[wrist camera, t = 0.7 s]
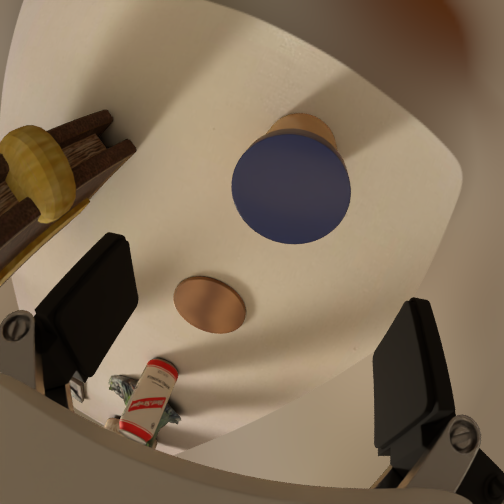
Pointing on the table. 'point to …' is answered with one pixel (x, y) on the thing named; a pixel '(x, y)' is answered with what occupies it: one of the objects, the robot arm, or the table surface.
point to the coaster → (209, 305)
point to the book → (50, 182)
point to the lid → (291, 186)
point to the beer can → (148, 401)
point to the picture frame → (77, 389)
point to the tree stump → (125, 390)
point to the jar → (305, 126)
